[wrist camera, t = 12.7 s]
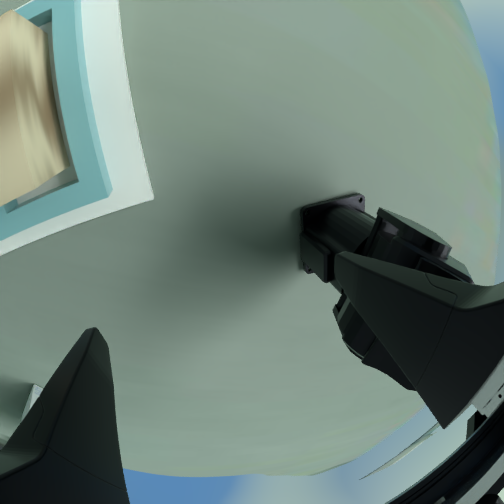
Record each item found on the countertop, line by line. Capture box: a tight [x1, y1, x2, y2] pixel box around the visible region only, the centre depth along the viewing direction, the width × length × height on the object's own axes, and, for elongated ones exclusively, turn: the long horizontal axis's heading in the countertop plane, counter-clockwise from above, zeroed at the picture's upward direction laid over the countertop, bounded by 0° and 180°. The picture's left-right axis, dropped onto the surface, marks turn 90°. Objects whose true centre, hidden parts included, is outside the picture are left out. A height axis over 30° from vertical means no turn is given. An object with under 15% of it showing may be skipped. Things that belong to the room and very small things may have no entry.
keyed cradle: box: [0, 0, 154, 256], centre depth 11 cm, size 14×18×3 cm
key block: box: [0, 9, 70, 207], centre depth 9 cm, size 10×4×6 cm, turn 9°
